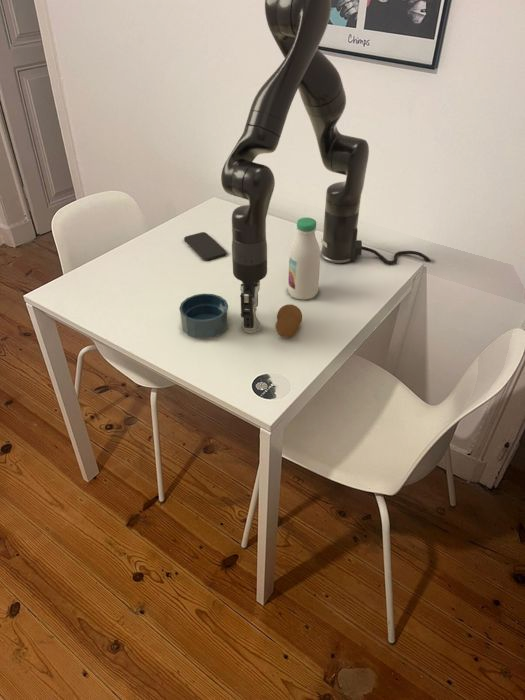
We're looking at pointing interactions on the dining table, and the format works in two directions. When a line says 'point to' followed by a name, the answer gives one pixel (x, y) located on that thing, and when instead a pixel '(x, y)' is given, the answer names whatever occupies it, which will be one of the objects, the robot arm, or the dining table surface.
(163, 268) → the dining table surface
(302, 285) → the milk bottle
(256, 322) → the rook chess piece
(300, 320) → the potato
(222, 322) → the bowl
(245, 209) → the robot arm
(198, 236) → the phone
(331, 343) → the dining table surface
